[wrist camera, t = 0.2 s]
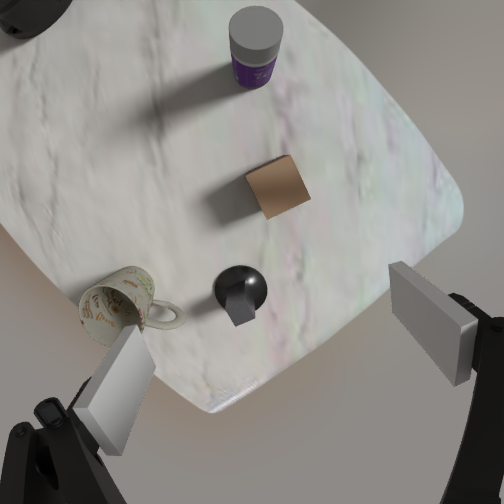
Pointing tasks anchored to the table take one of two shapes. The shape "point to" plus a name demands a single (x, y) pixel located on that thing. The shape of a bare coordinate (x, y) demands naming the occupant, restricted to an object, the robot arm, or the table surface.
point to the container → (254, 44)
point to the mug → (122, 306)
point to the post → (241, 292)
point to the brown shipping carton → (277, 186)
